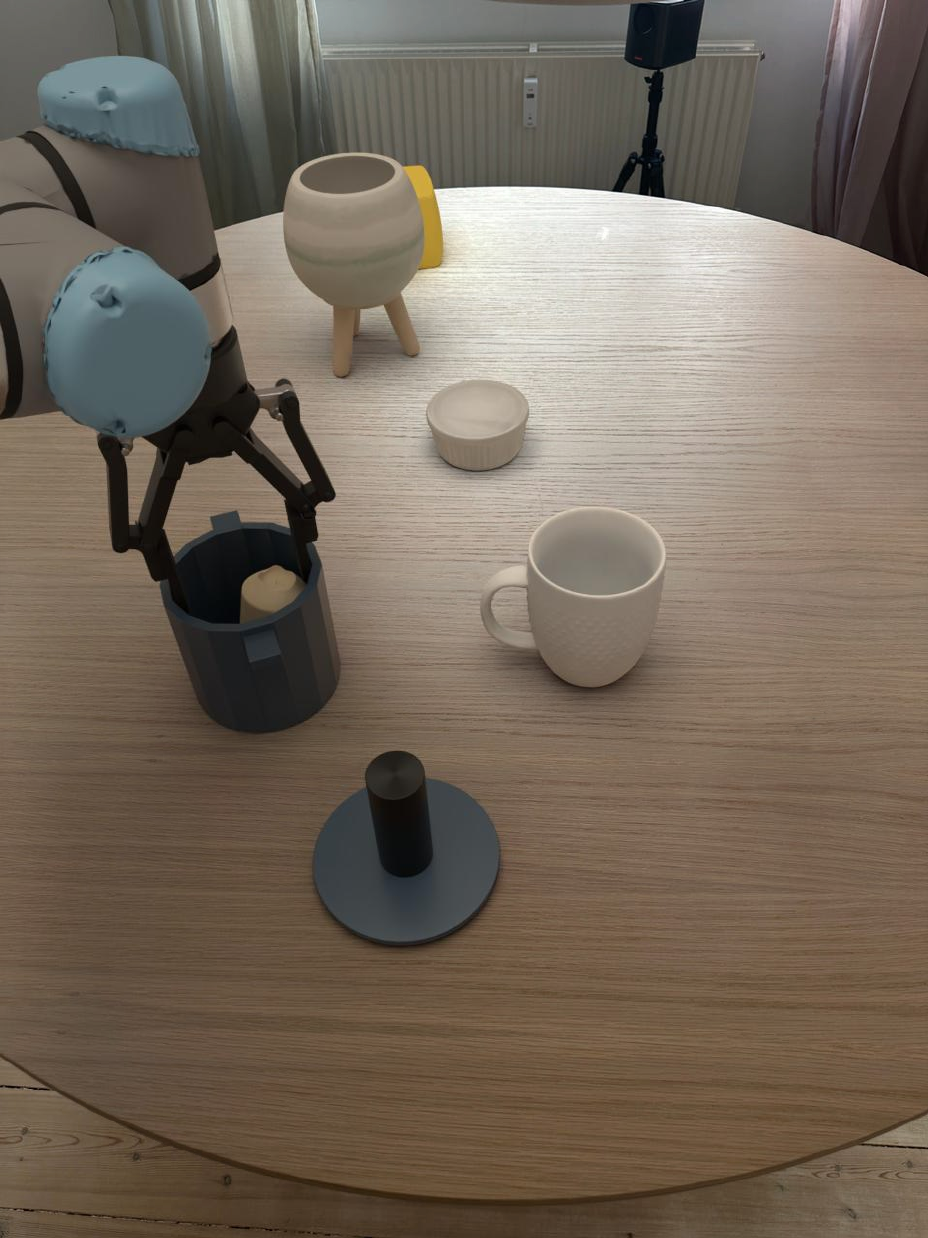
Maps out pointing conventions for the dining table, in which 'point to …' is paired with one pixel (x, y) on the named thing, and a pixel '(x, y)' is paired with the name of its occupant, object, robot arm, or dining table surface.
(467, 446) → the ramekin
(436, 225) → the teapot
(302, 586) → the candle
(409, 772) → the lid
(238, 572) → the pot
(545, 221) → the dining table surface
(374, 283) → the planter
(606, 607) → the mug
